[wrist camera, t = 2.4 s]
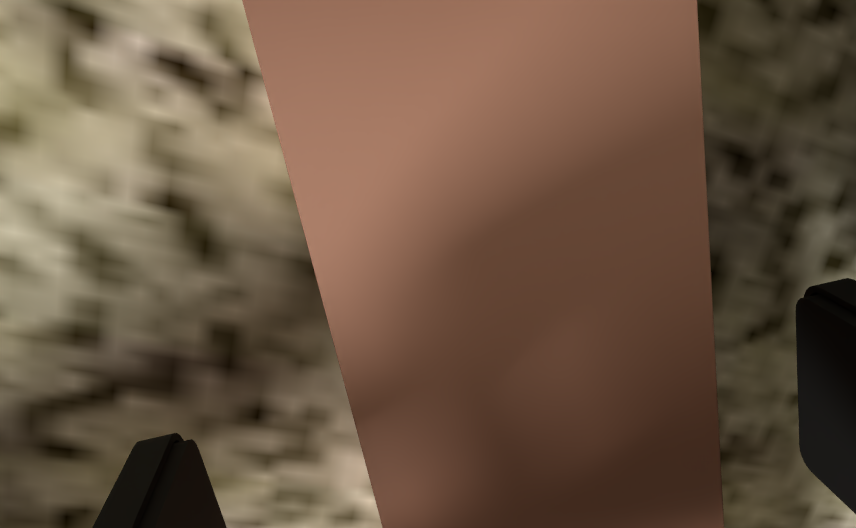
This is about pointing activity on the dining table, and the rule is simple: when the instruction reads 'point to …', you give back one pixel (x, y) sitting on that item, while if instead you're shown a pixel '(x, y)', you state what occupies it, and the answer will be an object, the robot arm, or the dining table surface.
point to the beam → (509, 251)
